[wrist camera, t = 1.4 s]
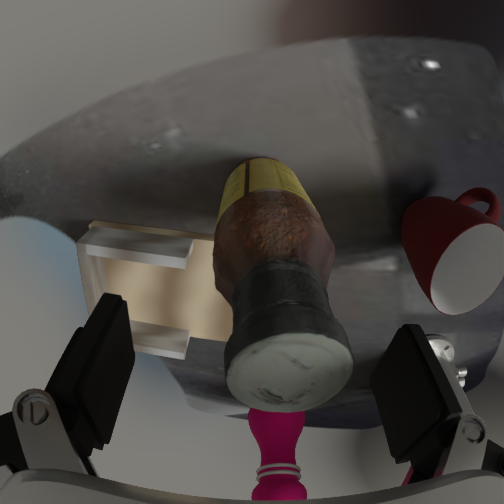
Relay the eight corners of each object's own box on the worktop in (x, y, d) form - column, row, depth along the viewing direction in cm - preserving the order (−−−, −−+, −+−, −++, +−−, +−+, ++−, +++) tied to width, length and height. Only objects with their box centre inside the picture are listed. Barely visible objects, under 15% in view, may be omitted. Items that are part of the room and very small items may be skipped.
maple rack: (277, 243, 29) (280, 270, 25) (257, 337, 35) (257, 369, 30) (94, 220, 28) (71, 242, 24) (106, 313, 34) (91, 340, 29)
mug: (436, 142, 24) (505, 173, 15) (476, 196, 26) (537, 239, 17) (366, 224, 28) (409, 285, 19) (414, 267, 30) (457, 329, 21)
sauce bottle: (241, 231, 28) (222, 442, 11) (214, 169, 26) (129, 343, 8) (311, 208, 27) (385, 407, 10) (288, 142, 24) (367, 276, 7)
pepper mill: (249, 404, 41) (245, 533, 24) (248, 374, 38) (243, 524, 20) (299, 404, 41) (309, 531, 24) (304, 374, 38) (320, 521, 20)
